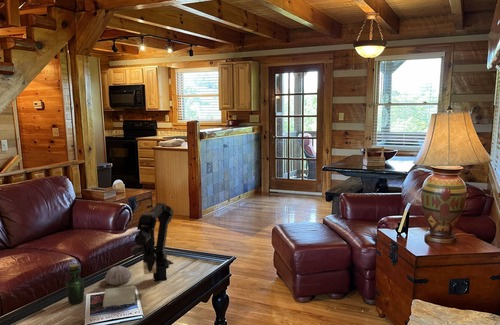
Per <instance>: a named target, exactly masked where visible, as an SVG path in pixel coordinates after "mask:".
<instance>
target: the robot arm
mask: <svg viewBox="0 0 500 325" xmlns="http://www.w3.org/2000/svg"><path fill="white" fill-rule="evenodd" d="M173 216H174V210H173V208H172V207H171V206H169V205H167V204H166V203H164V202H157V203H156V204H155V205H154V206H153V208H151V209H150V211H149V212H144V213H142V214H141V215H140V217H139V219H138V224H137V228H136V229H137V231H138V232H137V234H136V235H135V237H134V242H135V244H136V245H135V246H132V247H131V249H130V251H131V254H132V255H133V257H135V256H137V255H139V254H141V253H142V261H143V262H146V263H147V267H148V270H149V272H151V270H152V268H153V265H154V263H155V261H156V273H152V274H153V276H152V277H153V278H152V279H154V280H153V281H154V282H159V281H160V282H161V281H167V279H168V277H167V269H170V263H169V261H170V260H169V259H168V255H167V253H166V251H165V250H166V249H165V248H166V241H167V236H168V235H167V234H168V227H169V226H168V225H169V224H170V223H171V221H172V218H173ZM157 222H158V223H159V224H158V232H157V238H156V242H155V228H156V225H157ZM155 243H156V244H155ZM168 260H169V261H168ZM143 262H142V263H143Z"/></svg>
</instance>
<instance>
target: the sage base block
mask: <svg viewBox="0 0 500 325" xmlns="http://www.w3.org/2000/svg"><path fill="white" fill-rule="evenodd" d="M103 295H104V296H103V301H102V305H103V306H102V307H104V306H109V305H123V304H132V303H135V304H136V286H135V285H132V286H124V287H115V288H107V289H106V288H105V291H104V294H103Z"/></svg>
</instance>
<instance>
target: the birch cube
mask: <svg viewBox="0 0 500 325" xmlns="http://www.w3.org/2000/svg"><path fill="white" fill-rule="evenodd" d="M142 264H143V265H142V266H143V269H142V270H143V275H149V274H153V273H156V261H155V263H154V265H153V268H152V270H151V272H149V270H148V267H147V263H146V262H142Z"/></svg>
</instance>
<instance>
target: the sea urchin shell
mask: <svg viewBox="0 0 500 325" xmlns="http://www.w3.org/2000/svg"><path fill="white" fill-rule="evenodd" d="M131 278H132V273H131V271H130V270H129V269H128V268H127V267H124V266H122V265H117V266H113V267H111V268H110V269H109V270H108V271H107V272H106V274H105V276H104V280H105V282H106V283H107V284H109V285H111V286H117V285H122V284H125V283H126V282H128V281H130V279H131Z"/></svg>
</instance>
